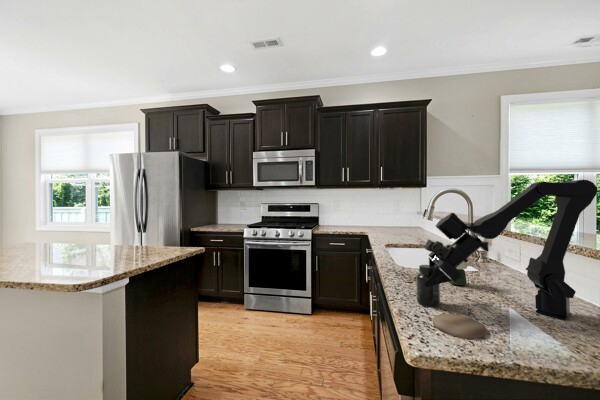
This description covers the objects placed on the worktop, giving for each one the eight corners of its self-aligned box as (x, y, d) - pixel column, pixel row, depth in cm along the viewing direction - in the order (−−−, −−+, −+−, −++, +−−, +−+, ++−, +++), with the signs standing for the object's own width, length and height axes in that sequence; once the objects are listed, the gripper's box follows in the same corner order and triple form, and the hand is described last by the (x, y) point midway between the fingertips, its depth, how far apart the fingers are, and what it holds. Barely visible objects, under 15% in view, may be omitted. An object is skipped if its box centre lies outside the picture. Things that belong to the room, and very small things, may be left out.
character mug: (476, 285, 105) (475, 252, 105) (470, 289, 100) (469, 254, 100) (446, 279, 113) (445, 248, 113) (439, 283, 108) (439, 250, 109)
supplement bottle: (435, 299, 90) (434, 263, 90) (443, 307, 84) (443, 269, 84) (413, 299, 91) (413, 263, 91) (420, 307, 84) (420, 268, 84)
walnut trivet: (495, 330, 69) (495, 326, 69) (471, 344, 62) (471, 339, 62) (447, 314, 79) (447, 310, 79) (423, 324, 72) (423, 320, 72)
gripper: (434, 228, 95) (402, 258, 98) (447, 235, 77) (407, 271, 80) (460, 251, 93) (425, 281, 96) (479, 264, 75) (436, 300, 78)
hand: (423, 282), depth 88 cm, fingers closed on supplement bottle, 7 cm apart
